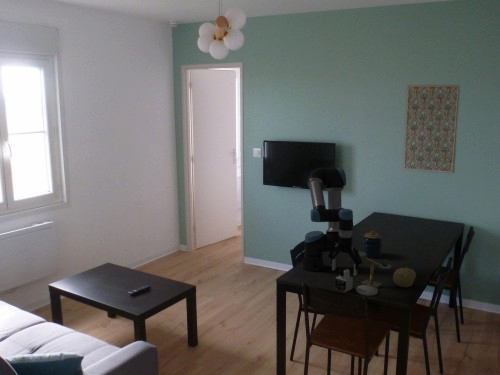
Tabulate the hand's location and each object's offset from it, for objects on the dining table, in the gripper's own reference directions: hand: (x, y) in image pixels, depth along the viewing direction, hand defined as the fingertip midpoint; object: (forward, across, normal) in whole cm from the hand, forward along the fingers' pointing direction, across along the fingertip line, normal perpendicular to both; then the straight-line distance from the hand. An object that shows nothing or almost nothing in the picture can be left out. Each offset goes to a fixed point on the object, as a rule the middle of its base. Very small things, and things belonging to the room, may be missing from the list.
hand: (344, 272), depth 266 cm
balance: (+10, +10, +16) cm, 21 cm away
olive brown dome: (+10, +25, +26) cm, 38 cm away
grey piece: (+10, 0, 0) cm, 11 cm away
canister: (+10, -12, +64) cm, 65 cm away
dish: (+10, +12, +6) cm, 16 cm away
